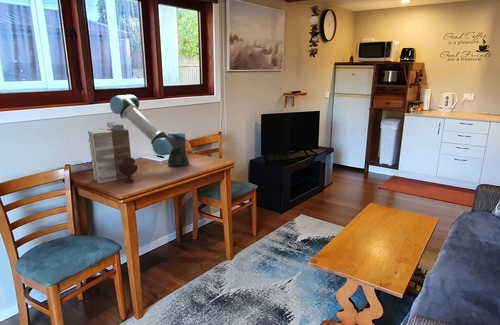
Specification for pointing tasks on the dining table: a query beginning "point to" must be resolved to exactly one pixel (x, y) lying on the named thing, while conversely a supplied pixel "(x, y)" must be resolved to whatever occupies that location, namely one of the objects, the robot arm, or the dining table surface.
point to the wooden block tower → (108, 153)
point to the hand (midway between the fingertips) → (107, 131)
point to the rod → (115, 126)
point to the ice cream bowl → (128, 168)
